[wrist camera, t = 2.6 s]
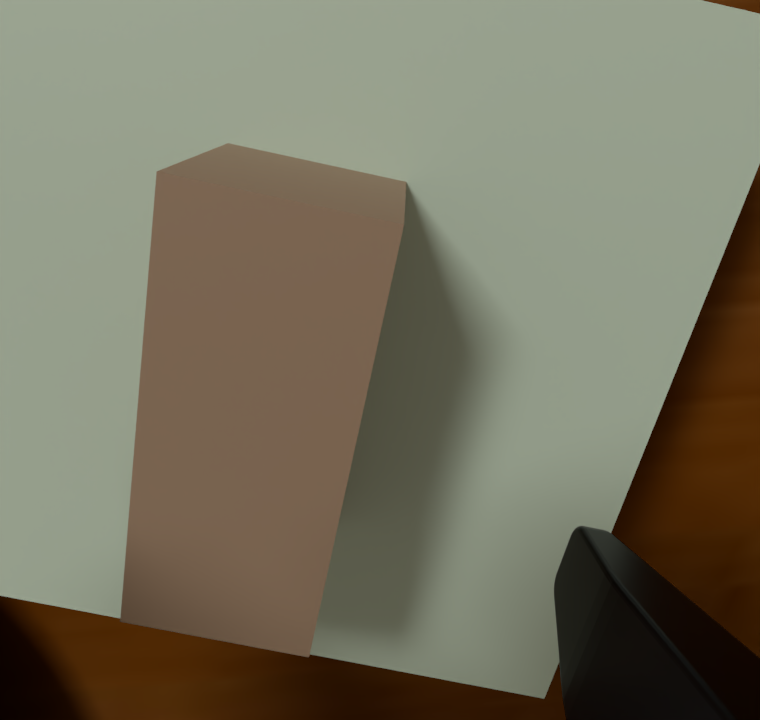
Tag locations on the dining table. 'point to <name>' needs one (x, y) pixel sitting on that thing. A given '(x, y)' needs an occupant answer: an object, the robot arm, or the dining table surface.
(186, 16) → the cover
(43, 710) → the dining table surface
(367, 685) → the dining table surface
